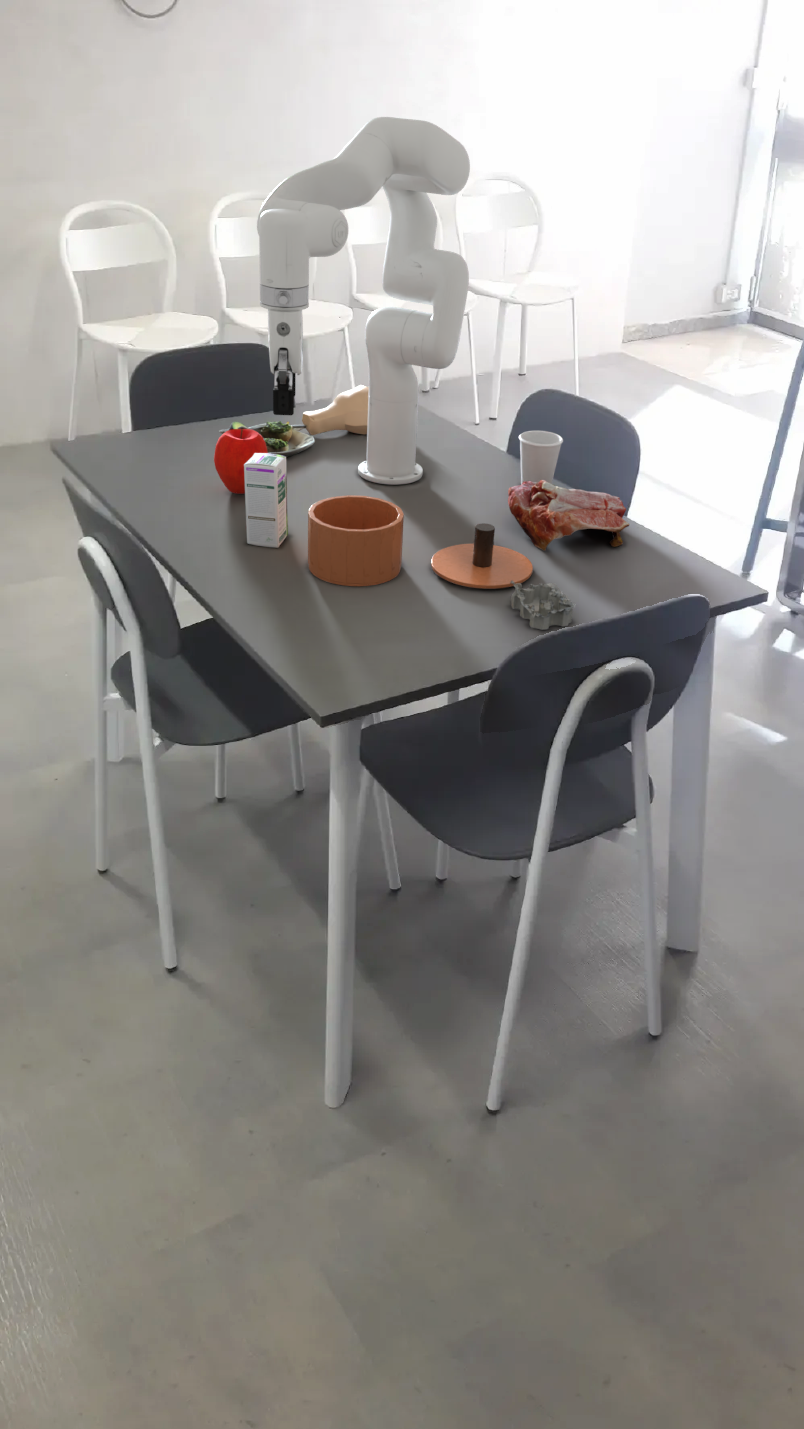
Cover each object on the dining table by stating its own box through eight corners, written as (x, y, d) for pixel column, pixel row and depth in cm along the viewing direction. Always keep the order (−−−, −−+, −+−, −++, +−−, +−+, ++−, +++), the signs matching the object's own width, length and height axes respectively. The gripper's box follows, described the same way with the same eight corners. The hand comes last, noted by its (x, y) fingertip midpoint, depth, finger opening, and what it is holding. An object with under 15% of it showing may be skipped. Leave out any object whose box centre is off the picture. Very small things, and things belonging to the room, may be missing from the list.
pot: (309, 546, 214) (309, 494, 209) (399, 549, 215) (402, 496, 210) (306, 585, 201) (306, 529, 196) (402, 587, 202) (405, 532, 197)
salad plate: (280, 423, 269) (280, 402, 267) (336, 446, 259) (336, 424, 256) (207, 441, 257) (206, 419, 255) (262, 465, 247) (262, 443, 244)
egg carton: (505, 602, 199) (507, 579, 197) (549, 598, 201) (551, 574, 199) (531, 632, 190) (534, 608, 188) (577, 627, 192) (580, 603, 190)
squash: (402, 434, 268) (404, 396, 262) (317, 454, 261) (316, 416, 255) (379, 410, 275) (380, 373, 269) (295, 430, 268) (294, 391, 262)
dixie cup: (506, 482, 245) (511, 432, 240) (544, 478, 248) (549, 428, 243) (527, 497, 238) (532, 446, 233) (565, 493, 241) (571, 442, 236)
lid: (428, 548, 216) (430, 506, 212) (525, 551, 217) (530, 509, 213) (433, 590, 201) (436, 546, 197) (538, 593, 202) (542, 549, 198)
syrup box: (278, 548, 213) (278, 466, 205) (245, 544, 214) (243, 462, 206) (288, 535, 218) (287, 455, 210) (255, 531, 219) (253, 451, 211)
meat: (560, 500, 238) (566, 449, 233) (650, 535, 225) (658, 482, 220) (483, 526, 226) (488, 472, 220) (574, 565, 213) (581, 509, 207)
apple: (234, 506, 228) (232, 441, 222) (204, 489, 235) (201, 426, 228) (279, 494, 234) (278, 430, 228) (248, 479, 240) (246, 416, 234)
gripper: (307, 310, 187) (306, 423, 196) (309, 284, 202) (308, 390, 210) (256, 308, 186) (258, 421, 195) (262, 282, 201) (263, 388, 210)
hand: (284, 405), depth 203 cm, fingers open, 9 cm apart
